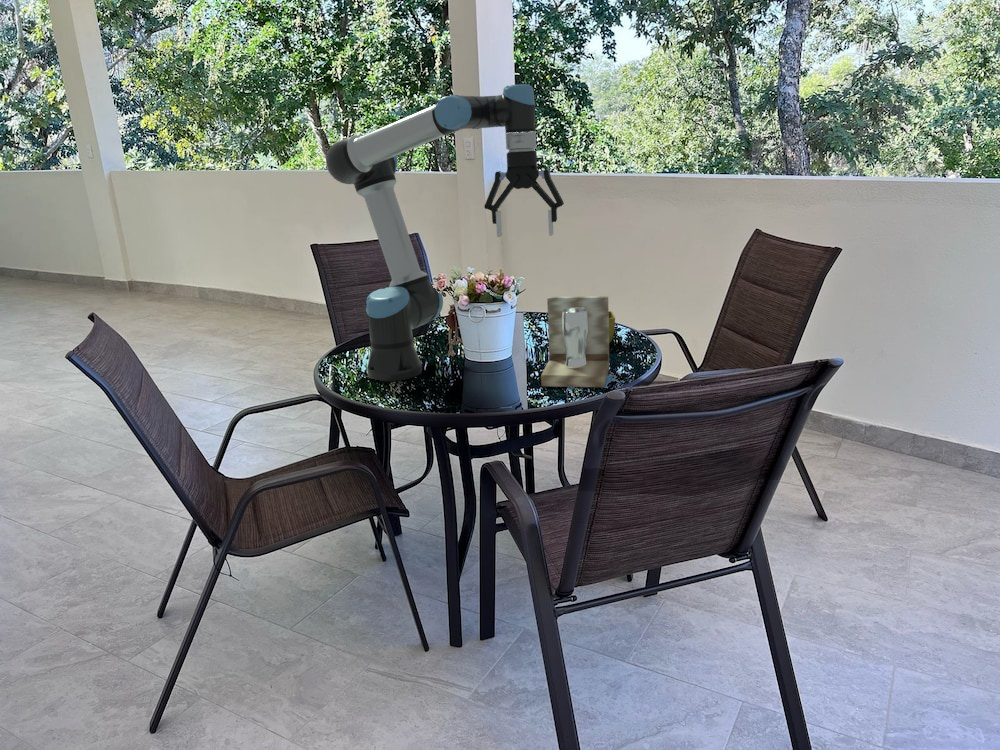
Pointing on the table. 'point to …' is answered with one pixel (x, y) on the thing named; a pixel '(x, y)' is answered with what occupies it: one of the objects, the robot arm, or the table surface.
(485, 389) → the table surface
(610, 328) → the flower pot
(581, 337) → the beer glass
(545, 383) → the beige brown l-shaped block
